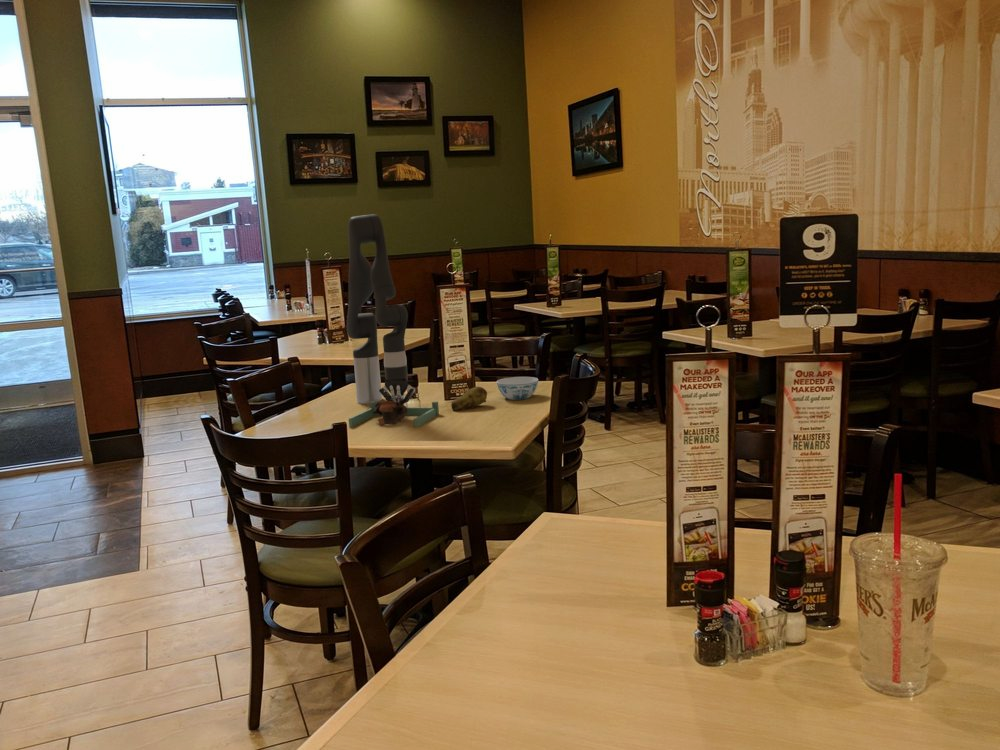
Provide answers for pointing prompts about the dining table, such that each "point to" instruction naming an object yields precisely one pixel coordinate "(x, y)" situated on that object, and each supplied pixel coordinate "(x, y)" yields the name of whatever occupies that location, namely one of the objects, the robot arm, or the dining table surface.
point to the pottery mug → (389, 412)
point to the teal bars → (423, 412)
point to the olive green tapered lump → (470, 399)
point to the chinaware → (517, 387)
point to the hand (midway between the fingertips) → (399, 415)
